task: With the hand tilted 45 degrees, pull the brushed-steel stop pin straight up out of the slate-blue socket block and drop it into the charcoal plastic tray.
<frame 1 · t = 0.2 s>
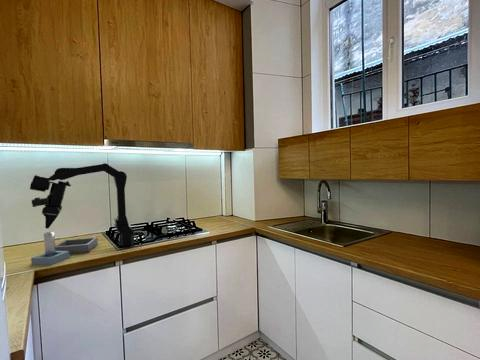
hand: (48, 226, 124), 15 cm above the worktop, tool tilted 15°, fingers open, 9 cm apart
socket block: (51, 260, 121), on the worktop
tray: (76, 249, 137), on the worktop
stop pin: (50, 246, 120), in the socket block
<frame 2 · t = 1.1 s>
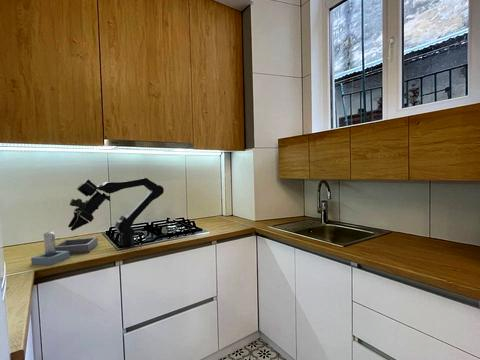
hand: (70, 228, 125), 14 cm above the worktop, tool tilted 45°, fingers open, 9 cm apart
nothing on the worktop moved.
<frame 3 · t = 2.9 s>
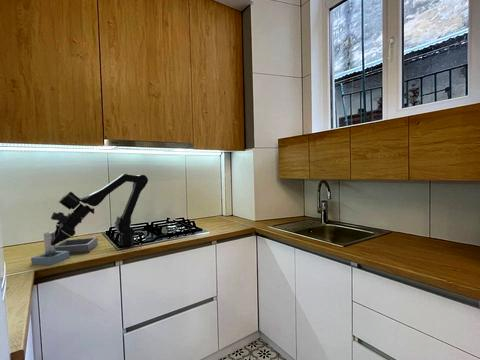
hand: (51, 243, 121), 8 cm above the worktop, tool tilted 45°, fingers open, 9 cm apart
nothing on the worktop moved.
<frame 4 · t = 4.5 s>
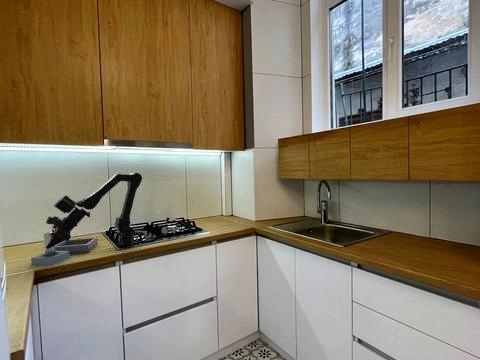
hand: (46, 247, 120), 7 cm above the worktop, tool tilted 45°, fingers closed on stop pin, 4 cm apart
stop pin: (50, 246, 120), in the socket block, touching gripper
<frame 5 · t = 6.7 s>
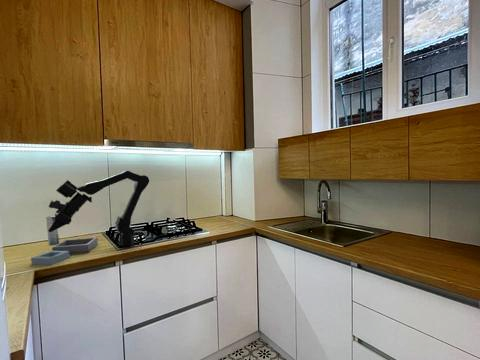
hand: (49, 230, 122), 13 cm above the worktop, tool tilted 45°, fingers closed on stop pin, 4 cm apart
stop pin: (52, 230, 123), point 13 cm above the worktop, touching gripper
when the fingers open (9 cm above the worktop, at t = 8.8 s): stop pin drops 1 cm, resting on tray.
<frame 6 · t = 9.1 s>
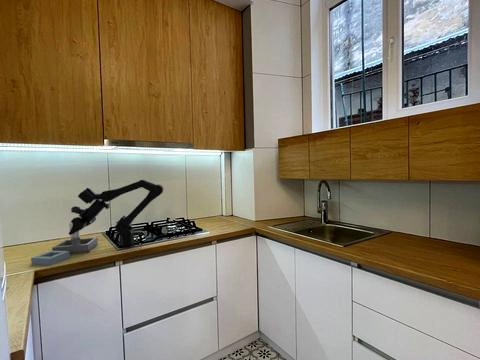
hand: (72, 232, 136), 9 cm above the worktop, tool tilted 45°, fingers open, 7 cm apart
stop pin: (75, 235, 136), in the tray, point 8 cm above the worktop
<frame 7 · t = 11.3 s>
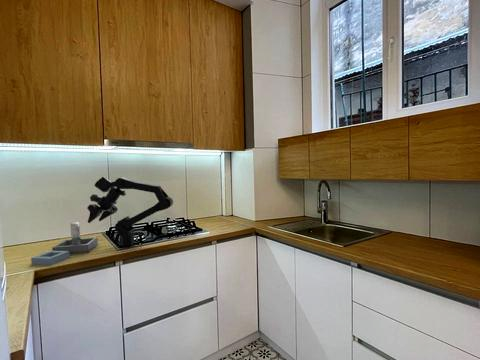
hand: (94, 221, 140), 14 cm above the worktop, tool tilted 40°, fingers open, 9 cm apart
nothing on the worktop moved.
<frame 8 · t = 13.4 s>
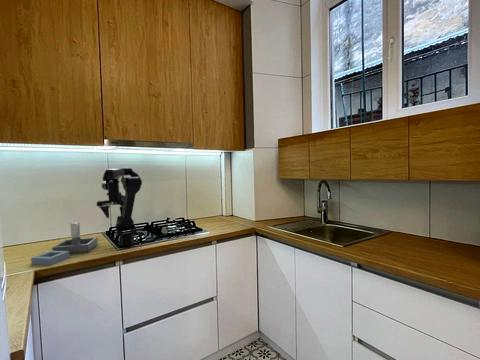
hand: (115, 218, 151), 13 cm above the worktop, tool pointing down, fingers open, 9 cm apart
nothing on the worktop moved.
at the end: stop pin inside the target area on the tray (0.0 cm from its centre), point 7.5 cm above the tray's base; the gripper is holding nothing; stop pin moved 16.1 cm from its start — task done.
